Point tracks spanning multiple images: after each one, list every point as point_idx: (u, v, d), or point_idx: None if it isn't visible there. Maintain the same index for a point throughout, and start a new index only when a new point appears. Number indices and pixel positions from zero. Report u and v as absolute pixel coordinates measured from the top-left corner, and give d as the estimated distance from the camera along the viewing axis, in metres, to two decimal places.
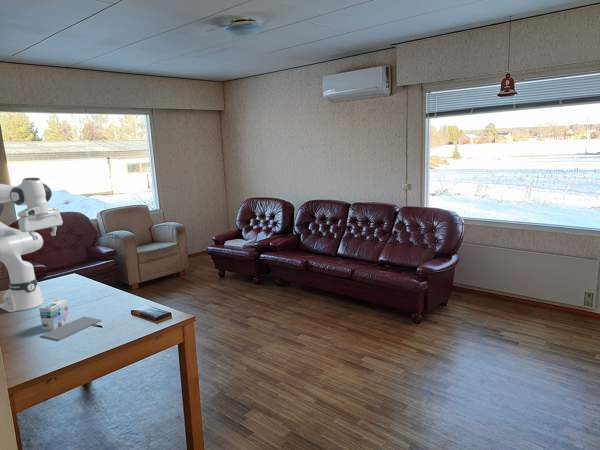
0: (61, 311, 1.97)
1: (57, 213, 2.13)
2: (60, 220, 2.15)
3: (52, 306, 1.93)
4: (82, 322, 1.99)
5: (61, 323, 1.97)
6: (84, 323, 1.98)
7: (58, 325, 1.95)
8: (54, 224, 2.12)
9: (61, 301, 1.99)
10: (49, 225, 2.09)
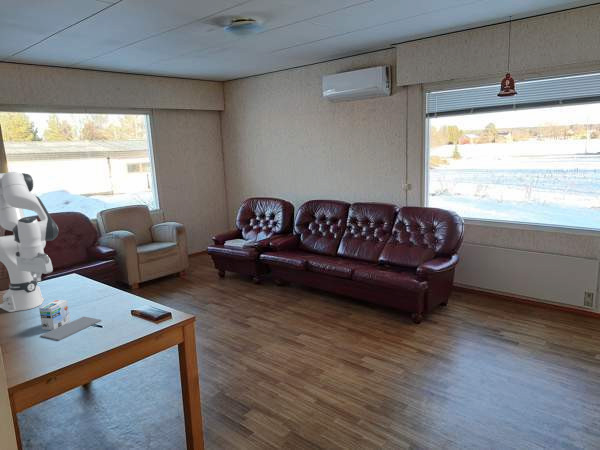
0: (61, 311, 1.97)
1: (41, 260, 1.91)
2: (43, 268, 1.91)
3: (52, 306, 1.93)
4: (82, 322, 1.99)
5: (61, 323, 1.97)
6: (84, 323, 1.98)
7: (58, 325, 1.95)
8: (39, 271, 1.93)
9: (61, 301, 1.99)
10: (35, 270, 1.94)
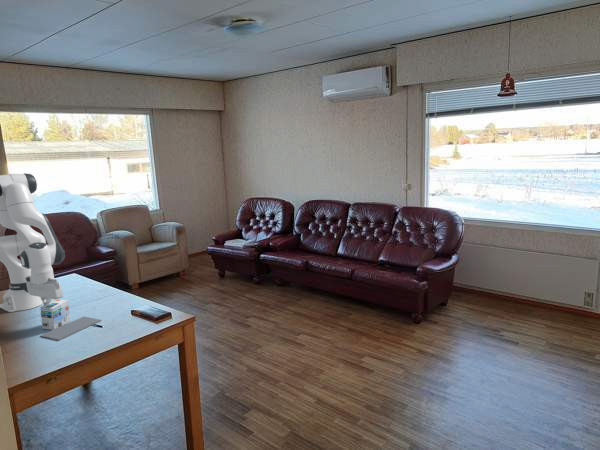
0: (62, 311, 1.97)
1: (51, 286, 1.91)
2: (54, 294, 1.92)
3: (53, 306, 1.93)
4: (82, 322, 1.99)
5: (62, 323, 1.97)
6: (84, 323, 1.98)
7: (58, 325, 1.95)
8: (49, 296, 1.93)
9: (62, 301, 1.99)
10: (45, 296, 1.94)
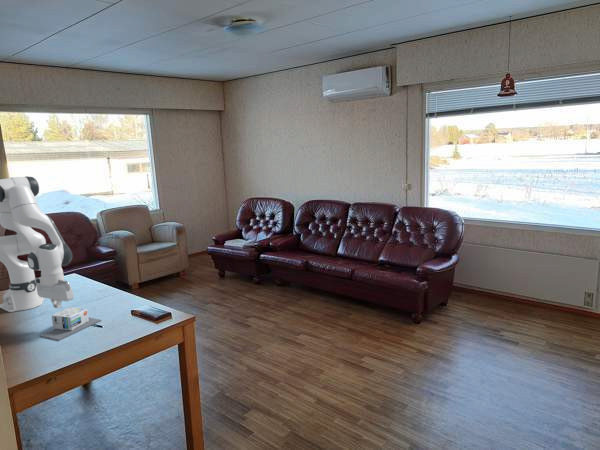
0: None
1: (62, 288, 1.88)
2: (64, 296, 1.89)
3: (75, 325, 1.92)
4: None
5: None
6: None
7: None
8: (59, 298, 1.91)
9: (85, 319, 1.98)
10: (55, 298, 1.92)
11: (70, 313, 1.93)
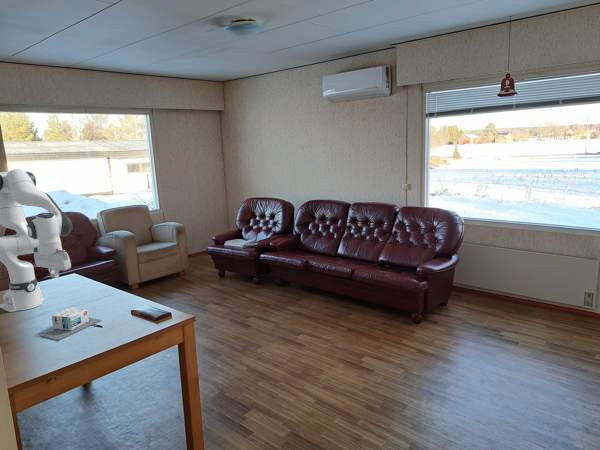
0: None
1: (59, 257, 1.88)
2: (62, 265, 1.88)
3: (75, 325, 1.92)
4: None
5: None
6: None
7: None
8: (57, 267, 1.90)
9: (85, 319, 1.98)
10: (53, 267, 1.91)
11: (70, 313, 1.93)
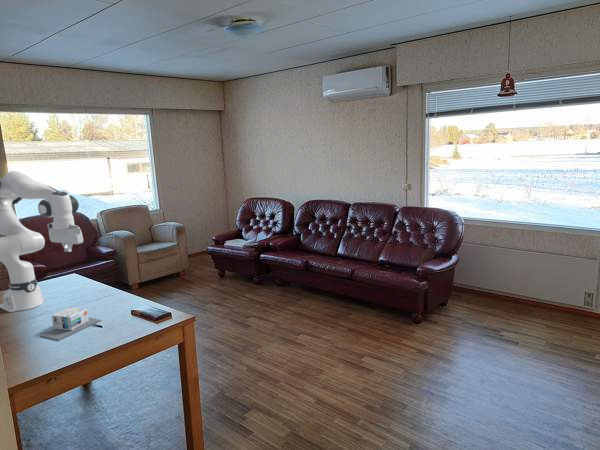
0: None
1: (73, 232, 2.04)
2: (75, 239, 2.04)
3: (75, 325, 1.92)
4: None
5: None
6: None
7: None
8: (70, 242, 2.06)
9: (85, 319, 1.98)
10: (66, 241, 2.07)
11: (70, 313, 1.93)
